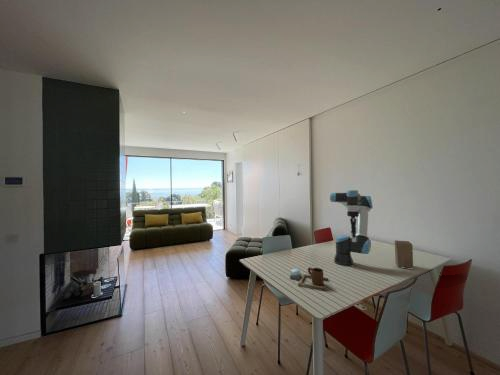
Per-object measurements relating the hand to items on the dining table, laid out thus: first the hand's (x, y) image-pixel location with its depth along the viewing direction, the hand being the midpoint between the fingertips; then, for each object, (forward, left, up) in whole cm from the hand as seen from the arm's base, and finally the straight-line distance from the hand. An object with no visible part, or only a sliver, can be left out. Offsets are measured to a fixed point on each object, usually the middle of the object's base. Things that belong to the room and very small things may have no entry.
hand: (353, 239), depth 149 cm
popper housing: (+19, -39, -27) cm, 51 cm away
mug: (+22, -25, -27) cm, 43 cm away
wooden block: (-37, +37, -27) cm, 59 cm away
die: (+12, -28, -27) cm, 41 cm away
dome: (+19, -39, -25) cm, 50 cm away
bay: (+23, -25, -27) cm, 43 cm away
